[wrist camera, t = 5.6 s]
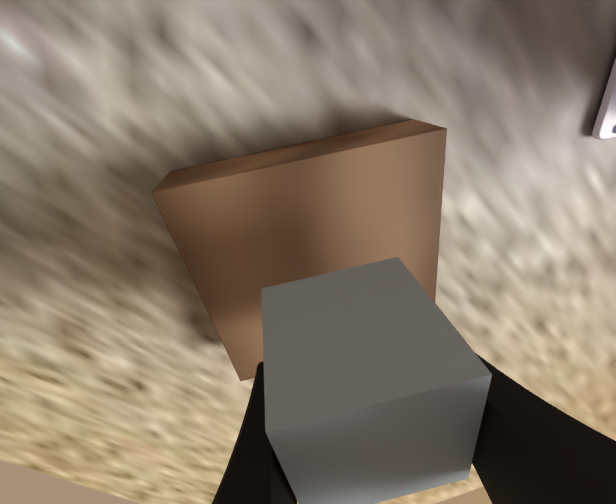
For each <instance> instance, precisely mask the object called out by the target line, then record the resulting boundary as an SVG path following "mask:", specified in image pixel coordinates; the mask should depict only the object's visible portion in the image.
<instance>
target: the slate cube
mask: <svg viewBox="0 0 616 504" xmlns="http://www.w3.org/2000/svg"><path fill="white" fill-rule="evenodd" d="M261 291H262V327H263V362H264V397H265V432H266V434H267V436H268V439H269V441H270V443H271V445H272V447H273V449H274V452H275V454H276V456H277V458H278V460H279V462H280V464H281V467H282V469H283V471H284V473H285V475H286V477H287V480H288V482H289V484H290V486H291V488H292V490H293V493H294V495H295V497H296V499H297V501H298V503H299V504H374V503H378V502H382V501H386V500H389V499H393V498H397V497H400V496H404V495H408V494H412V493H415V492H419V491H423V490H427V489H430V488H434V487H438V486H441V485H445V484H449V483H453V482H456V481H460V480H464V479H467V478H468V477H469V472H470V468H471V464H472V459H473V455H474V451H475V446H476V442H477V438H478V433H479V429H480V425H481V420H482V416H483V412H484V408H485V403H486V399H487V395H488V390H489V386H490V382H491V377H492V374H491V372H490V371H489V370H488V369H487V367H486V366H485V365H484V364H483V362H482V361H481V360H480V359H479V357H478V356H477V355H476V354H475V352H474V351H473V350H472V349H471V347H470V346H469V345H468V344H467V342H466V341H465V340H464V339H463V337H462V336H461V335H460V334H459V332H458V331H457V330H456V329H455V327H454V326H453V325H452V324H451V322H450V321H449V320H448V319H447V317H446V316H445V315H444V314H443V312H442V311H441V310H440V309H439V307H438V306H437V305H436V304H435V302H434V301H433V300H432V299H431V297H430V296H429V295H428V294H427V292H426V291H425V290H424V289H423V287H422V286H421V285H420V284H419V282H418V281H417V280H416V279H415V277H414V276H413V275H412V274H411V272H410V271H409V270H408V269H407V267H406V266H405V265H404V264H403V262H402V261H401V260H400V259H399V257H394V258H390V259H386V260H382V261H377V262H373V263H369V264H365V265H360V266H356V267H352V268H347V269H343V270H339V271H335V272H330V273H326V274H322V275H318V276H313V277H309V278H305V279H301V280H296V281H292V282H288V283H283V284H279V285H275V286H271V287H266V288H262V289H261Z"/></svg>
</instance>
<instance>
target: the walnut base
mask: <svg viewBox="0 0 616 504" xmlns="http://www.w3.org/2000/svg"><path fill="white" fill-rule="evenodd" d="M446 133H447V128H443V127H439V126H436V125H432V124H429V123H425V122H421V121H418V120H414V119H412V120H408V121H403V122H398V123H394V124H389V125H384V126H380V127H375V128H370V129H366V130H361V131H357V132H352V133H347V134H343V135H338V136H333V137H329V138H324V139H319V140H315V141H310V142H305V143H301V144H296V145H291V146H287V147H282V148H277V149H273V150H268V151H264V152H259V153H254V154H250V155H245V156H240V157H236V158H231V159H226V160H222V161H217V162H212V163H208V164H203V165H198V166H194V167H189V168H185V169H180V170H175V171H171V172H169V173H168V175H167V176H166V177H165V178H164V179H163V180H162V181H161V182H160V184H159V185H158V186H157V187H156V188H155V189H154V190H153V192H152V195H153V197H154V199H155V201H156V204H157V206H158V208H159V210H160V212H161V214H162V216H163V218H164V220H165V223H166V225H167V227H168V229H169V231H170V233H171V235H172V237H173V239H174V242H175V244H176V246H177V248H178V250H179V252H180V254H181V256H182V258H183V261H184V263H185V265H186V267H187V269H188V271H189V273H190V275H191V277H192V280H193V282H194V284H195V286H196V288H197V290H198V292H199V294H200V296H201V299H202V301H203V303H204V305H205V307H206V309H207V311H208V313H209V315H210V318H211V320H212V322H213V324H214V326H215V328H216V330H217V332H218V334H219V337H220V339H221V341H222V343H223V345H224V347H225V349H226V351H227V353H228V356H229V358H230V360H231V362H232V364H233V366H234V368H235V370H236V372H237V375H238V377H239V379H240V381H243V380H247V379H251V378H255V375H256V369H257V365H258V364H259V362H263V327H262V291H261V289H262V288H266V287H271V286H275V285H279V284H283V283H288V282H292V281H296V280H301V279H305V278H309V277H313V276H318V275H322V274H326V273H330V272H335V271H339V270H343V269H347V268H352V267H356V266H360V265H365V264H369V263H373V262H377V261H382V260H386V259H390V258H394V257H399V259H400V260H401V261H402V262H403V264H404V265H405V266H406V267H407V269H408V270H409V271H410V272H411V274H412V275H413V276H414V277H415V279H416V280H417V281H418V282H419V284H420V285H421V286H422V287H423V289H424V290H425V291H426V292H427V294H428V295H429V296H430V297H431V299H432V300H433V301H434V302H435V294H436V279H437V265H438V250H439V235H440V221H441V206H442V191H443V177H444V162H445V147H446Z"/></svg>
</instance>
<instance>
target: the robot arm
mask: <svg viewBox="0 0 616 504" xmlns="http://www.w3.org/2000/svg"><path fill="white" fill-rule="evenodd" d="M612 128H613V129H612ZM592 135H593V137H594V138H595V139H600V140H605V139H609V138H614V137H616V58H615V61H614V64H613V68H612V71H611V74H610V77H609V80H608V84H607V87H606V90H605V93H604V96H603V100H602V103H601V106H600V109H599V113H598V116H597V119H596V122H595V125H594V129H593V133H592ZM475 354H476V353H475ZM476 355H477V354H476ZM477 356H478V357H479V359H480V360H481V361H482V362H483V364H484V365H485V366H486V367H487V369H488V370H489V371H490V372H491V374H492V377H491V382H490V386H489V390H488V395H487V399H486V403H485V408H484V412H483V416H482V420H481V425H480V429H479V433H478V438H477V442H476V446H475V451H474V455H473V459H472V464H473V466H474V467H475V469H476V471H477V473H478V475H479V477H480V479H481V481H482V483H483V485H484V487H485V489H486V491H487V493H488V496H489V498H490V500H491V502H492V503H493V504H616V441H614V440H613V439H611V438H609V437H607V436H605V435H603V434H601V433H599V432H597V431H595V430H594V429H592V428H590V427H588V426H586V425H585V424H583V423H581V422H580V421H578V420H576V419H574V418H573V417H571V416H569V415H567V414H566V413H564V412H562V411H561V410H559V409H557V408H556V407H554V406H552V405H551V404H549V403H547V402H546V401H544V400H543V399H541V398H539V397H538V396H536V395H535V394H533V393H532V392H530V391H529V390H527V389H525V388H524V387H523V386H521V385H520V384H518V383H517V382H515V381H514V380H512V379H511V378H509V377H508V376H506V375H505V374H504V373H502V372H501V371H499V370H498V369H496V368H495V367H494V366H492V365H491V364H490V363H488V362H487V361H486V360H484V359H483V358H481V357H480V356H479V355H477ZM212 504H297V499H296V497H295V495H294V493H293V490H292V488H291V486H290V484H289V482H288V480H287V477H286V475H285V473H284V471H283V469H282V467H281V464H280V462H279V460H278V458H277V456H276V454H275V452H274V449H273V447H272V445H271V443H270V441H269V439H268V436H267V434H266V432H265V397H264V362H259V364H258V365H257V369H256V375H255V379H254V384H253V388H252V392H251V396H250V399H249V403H248V406H247V410H246V413H245V416H244V420H243V423H242V426H241V429H240V432H239V435H238V438H237V441H236V444H235V446H234V449H233V452H232V455H231V458H230V460H229V463H228V466H227V468H226V471H225V473H224V476H223V478H222V481H221V483H220V486H219V488H218V490H217V493H216V495H215V498H214V500H213V502H212Z"/></svg>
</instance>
